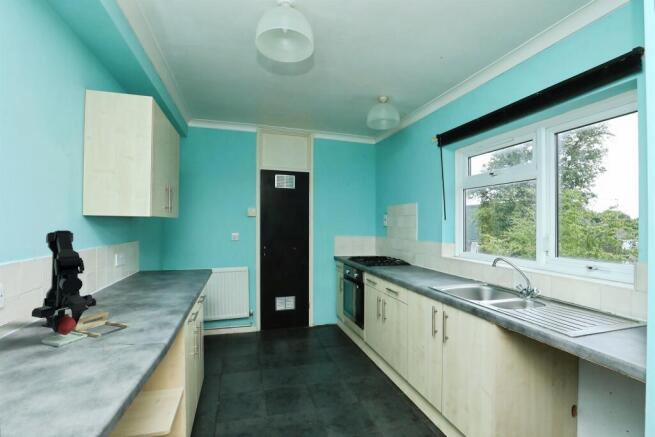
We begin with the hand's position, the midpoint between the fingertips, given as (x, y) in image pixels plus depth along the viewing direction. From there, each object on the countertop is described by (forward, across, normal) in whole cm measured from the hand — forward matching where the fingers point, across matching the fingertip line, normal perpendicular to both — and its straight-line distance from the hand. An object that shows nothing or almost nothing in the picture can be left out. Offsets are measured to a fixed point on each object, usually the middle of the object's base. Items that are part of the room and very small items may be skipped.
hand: (65, 329), depth 115 cm
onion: (+2, 0, 0) cm, 2 cm away
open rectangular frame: (+4, +13, -1) cm, 14 cm away
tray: (+4, 0, 0) cm, 4 cm away
